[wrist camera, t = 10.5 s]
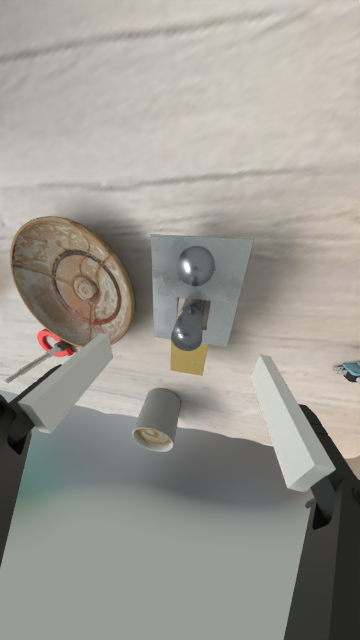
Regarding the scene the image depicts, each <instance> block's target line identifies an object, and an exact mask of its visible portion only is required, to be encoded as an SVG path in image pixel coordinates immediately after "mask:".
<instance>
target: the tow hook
mask: <svg viewBox="0 0 360 640" xmlns="http://www.w3.org/2000/svg"><path fill="white" fill-rule="evenodd" d="M45 336H50V337H52V338H54V339H55V340H56V341H60V342H58V343H56V344H55V345H54V346H55V347H54V348H51V347H50V346H49V345H48V344H47V343H46V341H45ZM37 337H38V341H39V343H40V345H41V346H42V347H43V348H44V349H45V350H46V351H47V352H46V353H45V354H44V355H42V356H41V357H39V358H37V359H36V360H34V361H33V362H31V363H29V364H28V365H26V366H25V367H23V368H21V369H20V370H18V371H17V373H15V374H14V375H12V376H11V377H9V378H7V379H6V380H5V382H6V383H9V382H10V381H12V380H14V379H15V378H17V377H18V376H20V375H23V374H25V373H26V372H28V371H29V370H31V369H32V368H34V367H35V366H37V365H38V364H40V363H41V362H43V361H44V360H46V359H47V358H50V357H52V356H53V355H54V356H57V357H63V356H65V355H66V354H67V355H68V356H70V355H72V354H73V351H72V349H71V347H70V344H69V343H67V342H65V341H64V340H62V339H60V338H58V337H57V336H55V335H54V334H52V333H51V332H50V331H49V330H47V329H46V330H42V331H40V332H39V333H38V336H37Z"/></svg>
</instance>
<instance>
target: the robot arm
mask: <svg viewBox="0 0 360 640" xmlns="http://www.w3.org/2000/svg"><path fill="white" fill-rule="evenodd" d="M112 358H113V355H112V350H111V345H110V341H109V336H108V334H103V333H100V334H99V335H97V336H96V337H95V338H94V339H93V340H91V341H90V342H89V343H88V344H87V345H86V346H84V347H83V348H82V349H81V350H80V351H78V352H77V353H76V354H75V355H74V356H72V357H71V358H70V359H69V360H68V361H66V362H65V363H64V364H63V365H61V364H60V365H58V366H56V367H54V368H52V369H51V370H49V371H48V372H47V373H46V374H44V375H43V377H41V378H39V379H38V380H37V382H34V383H33V384H32V385H31V386H29V387H28V388H27V389H26V390H25V391H23V392H22V393H21V394H20V395H18V396H17V397H16V398H15V399H13V400H12V401H11V402H9V403H7V401H6V400H5V399H4V397H3V396H2V395H0V566H1V562H2V558H3V553H4V549H5V545H6V541H7V536H8V532H9V528H10V524H11V520H12V515H13V511H14V507H15V503H16V498H17V495H18V490H19V486H20V482H21V478H22V473H23V469H24V465H25V460H26V456H27V452H28V448H29V444H30V440H31V435H32V434H31V429H32V428H33V427H34V426H36V427H37V429H38V430H39V431H41V432H45V433H52V431H53V430H54V429H55V428H56V426H57V425H58V424H59V423H60V422H61V420H62V419H63V418H64V416H65V415H66V414H67V413H68V412H69V411H70V409H71V408H72V407H73V406H74V405H75V403H76V402H77V401H78V400H79V398H80V397H81V396H82V395H83V394H84V392H85V391H86V390H87V389H88V387H89V386H90V385H91V384H92V383H93V381H94V380H95V379H96V378H97V376H98V375H99V374H100V373H101V372H102V370H103V369H104V368H105V367H106V365H107V364H108V363H109V362H110V361H111V359H112ZM251 381H252V384H253V387H254V390H255V393H256V396H257V399H258V402H259V405H260V408H261V411H262V414H263V417H264V420H265V423H266V426H267V429H268V432H269V435H270V438H271V440H272V443H273V446H274V449H275V452H276V455H277V458H278V461H279V464H280V467H281V470H282V473H283V476H284V478H285V482H286V484H287V487H288V488H289V489H293V490H297V491H302V492H305V491H307V490H308V489H310V488H311V490H312V492H313V495H314V498H313V499H311V500H310V501H308V502H307V503H306V505H305V506H306V508H309V507H311V510H310V515H309V520H308V525H307V529H306V534H305V539H304V544H303V549H302V554H301V558H300V563H299V568H298V573H297V578H296V583H295V588H294V592H293V597H292V602H291V607H290V612H289V617H288V622H287V626H286V631H285V636H284V640H360V480H358V479H357V477H356V476H355V475H354V474H353V472H352V470H351V469H350V467H349V466H348V464H347V463H346V461H345V459H344V458H343V456H342V455H341V453H340V452H339V450H338V449H337V447H336V446H335V444H334V442H333V441H332V439H331V438H330V436H328V433H327V432H326V430H325V429H324V427H322V424H321V422H320V421H319V419H318V418H317V416H316V415H315V414H314V413H313V412H312V411H311V410H310V409H309V408H308V407H307V406H306V405H301V404H298V403H297V401H296V400H295V398H294V396H293V395H292V393H291V391H290V389H289V388H288V386H287V384H286V383H285V381H284V379H283V377H282V376H281V374H280V372H279V371H278V369H277V367H276V365H275V364H274V362H273V360H272V359H271V357H270V356H264V355H260V357H259V359H258V362H257V364H256V367H255V369H254V371H253V374H252V376H251Z"/></svg>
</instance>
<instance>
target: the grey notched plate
mask: <svg viewBox="0 0 360 640" xmlns="http://www.w3.org/2000/svg"><path fill="white" fill-rule="evenodd" d="M253 241H254V239H235V238H216V237H196V236H176V235H157V234H151V256H152V286H153V316H154V337H158V338H165V339H171V334H172V331H173V329H174V326H175V324H176V321H177V319H178V301H179V297H181V298H190V299H200V300H209V301H210V306H209V312H208V319H207V325H206V326H205V325H203V333H202V343H201V345H200V346H199V347H198V348H197V349H195V350H192V351H184V350H181V349H179V348H177V347H176V346H175V345H174V344H173V342H172V341H171V370H172V371H178V372H184V373H190V374H196V375H201V376H203V370H204V364H205V359H206V353H207V347H208V345H214V346H221V347H227V345H228V341H229V337H230V333H231V329H232V325H233V321H234V317H235V313H236V309H237V305H238V301H239V297H240V293H241V289H242V285H243V281H244V277H245V273H246V269H247V265H248V261H249V257H250V253H251V249H252V245H253Z"/></svg>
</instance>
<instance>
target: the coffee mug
mask: <svg viewBox="0 0 360 640" xmlns="http://www.w3.org/2000/svg"><path fill="white" fill-rule="evenodd" d="M180 404H181V402H180V399H179V397H178V396H177V395H176V394H175V393H173V392H172V391H170V390H167V389H162V388H157V389H153V390H151V391H150V392H149V393H148V395H147V398H146V400H145V402H144V405H143V407H142V410H141V412H140V415H139V417H138V420H137V422H136V425H135V427H134V430H133V432H132V437H133V439H134V440H135V441H136V442H137V443H138V444H139V445H141V446H143V447H144V448H146V449H149V450H152V451H158V452H164V451H169V450H171V449H172V447H173V445H174V439H175V433H176V428H177V422H178V416H179V410H180Z"/></svg>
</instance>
